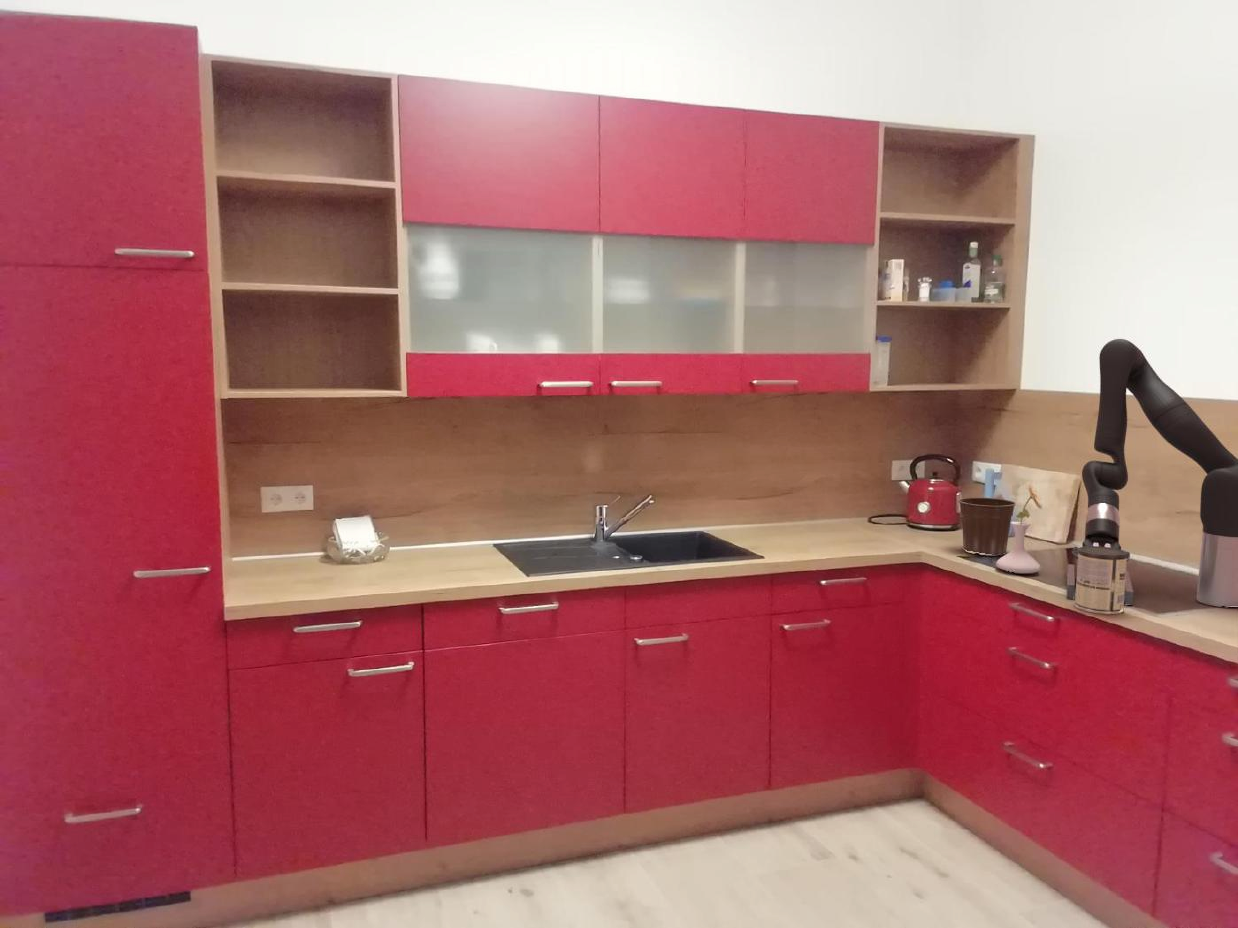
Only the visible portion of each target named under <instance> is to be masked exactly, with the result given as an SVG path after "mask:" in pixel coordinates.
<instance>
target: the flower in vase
mask: <svg viewBox="0 0 1238 928" xmlns="http://www.w3.org/2000/svg"><path fill="white" fill-rule="evenodd" d="M1026 486H1027V490H1028V493H1029V495H1030V496H1029V498H1028V499H1027V501H1026V502H1025V504H1024V506H1023V508H1022V511H1020V512H1019V513H1018V514H1016V518H1019V519H1020V521H1011V522H1010V525H1011V526H1012V527H1013V531H1014V536H1015V537H1014V538H1015V539H1014V547H1013V548H1012V550H1011V551H1009V552H1008V553H1006V554H1004V555H1003V556H1000V558H999V559H998V560H997V561H996V563H995V565H996V567H997V568H998V569H1000V570H1002V571H1004V570H1005V572H1008V571H1009V572H1008V573H1012V572H1014V573H1015V574H1022V575H1023V574H1024V575H1025V574H1034V573H1037V572H1039V571H1041V569H1042V568H1041V565H1040V563H1038V562H1037V560H1035V558H1033V557H1032V556H1031V555H1030V554H1029V553H1028V552H1027V550H1026V548H1025V536H1026V532H1027V530H1028V529H1029V527H1030V526H1031V523H1030V522H1029V523H1028V522H1025V521H1023V518H1030V512H1029V510H1028V509H1026V507H1027V505H1028V503H1029V501H1031V499H1032V501H1033V503H1034V504H1035V506H1036V507H1037V508H1038V509H1039V510H1042V509H1043V506H1044V505H1043V503H1042V502H1041V497H1040V496H1039V495H1038V494H1037V490H1036V488H1034V486H1033V484H1032V483H1031V482H1027V485H1026ZM1014 573H1013V574H1014Z"/></svg>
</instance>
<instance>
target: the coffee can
mask: <svg viewBox="0 0 1238 928" xmlns="http://www.w3.org/2000/svg"><path fill="white" fill-rule="evenodd" d="M1078 547H1079V548H1078V560H1077V566H1076V567H1077V568H1076V580H1075V581H1076V582H1075V595H1074V601H1075V602H1074V607H1075V608H1076V609H1079V610H1081V611H1084V612H1087V613H1093V614H1099V615H1101V614H1102V615H1120V614H1119V611H1120V610H1121V609H1122V608H1123V609H1124V605H1125V602H1124V591H1125V577H1126V570H1127V556H1128V553H1127V552H1128V551H1126V550H1123V549H1121V550H1120V549H1116V548H1110V547H1101V546H1083V547H1080V546H1078Z"/></svg>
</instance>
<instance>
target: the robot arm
mask: <svg viewBox="0 0 1238 928" xmlns="http://www.w3.org/2000/svg"><path fill="white" fill-rule="evenodd" d="M1098 361H1099V376H1100V377H1099V379H1100V380H1099V385H1100V386H1099V388H1100V389H1099V402H1098V403H1099V406H1098V414H1097V421H1096V427H1095V435H1094V441H1093V449H1094V450H1095V451H1096V452H1098V453H1099V454H1103V455H1107V456H1109V457H1111V459H1112V460H1113V462H1107V461H1100V460H1090V461H1088V462H1086V463H1085V464H1084V466H1083V468H1082V471H1081V478H1082V482H1083V485H1084V487H1085V491H1086V494H1087V512H1086V516H1085V523H1084V525H1085V526H1084V529H1085V530H1084V540H1083V541H1082V543H1081V545H1080V546H1073V549H1072V555H1073V557H1075V559H1076V560H1077V561H1078V548H1079V547H1083V546H1101V547H1110V548H1116V549H1120V550H1122V546H1121V545H1120V527H1121V525H1120V523H1121V522H1120V521H1121V520H1120V496H1119V494H1118V492H1117V491H1120V490H1122V489H1124V488H1125V487H1126V486H1127V484H1128V481H1129V473H1128V467H1127V463H1126V457H1125V445H1126V437H1127V429H1128V408H1127V406H1128V405H1127V390H1128V391H1129V393H1131V394H1132V395H1133V396H1134V398H1135V399H1136V401H1137V402H1138V404H1139V406H1140V408H1141V410H1142V412H1143V413H1144V415H1145V416H1146V418H1147V420H1148V422H1149V423H1150V424H1151V425H1152V427H1153V428H1154V429H1155V430H1156V431H1157V433H1159V435H1160V437H1162V438H1163V440H1164V441H1166V442H1167V443H1168V444H1169V445H1171V446H1172V447H1174V448H1175V449H1176V450H1178V451H1179V452H1181V453H1182V454H1184V455H1185V456H1186V457H1189V459H1191V460H1192V461H1194V462H1195V463H1196V464H1198V465H1199V467H1200V468H1202V470H1203V471H1204V472H1205V473H1206V475H1205V477H1204V479H1203V481H1202V483H1201V489H1200V505H1199V506H1200V510H1199V516H1200V517H1199V518H1200V521H1201V525H1202V535H1201V544H1200V545H1201V546H1200V555H1199V557H1200V558H1199V567H1198V579H1197V590H1196V601H1198V602H1199V603H1201V604H1205V605H1207V606H1213V607H1219V608H1223V607H1222V606H1238V458H1237V457H1236V456H1235V455H1234V454H1233V453H1232V452H1231V451H1230V450H1228V448H1227V447H1225V445H1223V443H1222V442H1221V441H1220V440H1219V438H1218V437H1217V436H1216V435H1215V434H1214V432H1213V431H1212V430H1211V429H1210V428H1209V427H1208V426H1207V424H1206V423H1205V422H1204V421H1203V419H1201V417H1200V415H1198V414H1197V412H1195V410H1194V409H1193V408H1192V407H1191V406H1190V405H1189V404H1188V402H1187V401H1186V400H1184V398H1183V397H1181V396H1180V395H1179V394H1178V393H1177V392H1176V391H1175V390H1174V389H1172V388H1171V387H1170V386H1169V385H1167V383H1166V382H1164V381H1163V379H1161V377H1159V375H1158V373H1157V372H1156V371H1155V370H1154V368H1153V367H1152V365H1151V363H1149V361H1148V360H1147V357H1146V356H1145V355H1144V353H1143V351H1142V350H1141V349H1140V348H1139V347H1138V346H1137V345H1136V344H1134V343H1133V342H1132V341H1130V340H1127V339H1124V338H1116V339H1112V340H1110V341H1108V342H1107V343H1105V345H1104V346H1103V347H1102V348H1101V350H1100V352H1099V360H1098ZM1126 552H1127V553H1128V556H1127V562H1129V561H1130V557H1131V553H1130V551H1126Z"/></svg>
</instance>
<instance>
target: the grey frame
mask: <svg viewBox="0 0 1238 928" xmlns="http://www.w3.org/2000/svg"><path fill="white" fill-rule="evenodd" d="M1067 565H1068V566H1067V580H1066V582H1067V583H1066V599H1067V600H1068V599H1069V600H1074V599H1075V589H1076V582H1075V581H1076V580H1075V578H1076V577H1075V575H1076V574H1075V564H1069V563H1068V564H1067ZM1134 592H1135V591H1134V589H1133V586H1132V582H1131V577H1130V574H1129V571H1128V569H1126V577H1125V591H1124V605H1125V604H1130V605H1132V606H1134V605H1133V603H1134ZM1073 598H1074V599H1073Z"/></svg>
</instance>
